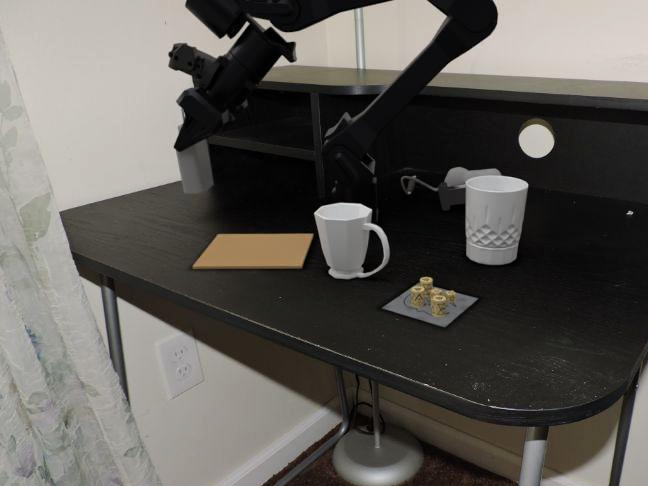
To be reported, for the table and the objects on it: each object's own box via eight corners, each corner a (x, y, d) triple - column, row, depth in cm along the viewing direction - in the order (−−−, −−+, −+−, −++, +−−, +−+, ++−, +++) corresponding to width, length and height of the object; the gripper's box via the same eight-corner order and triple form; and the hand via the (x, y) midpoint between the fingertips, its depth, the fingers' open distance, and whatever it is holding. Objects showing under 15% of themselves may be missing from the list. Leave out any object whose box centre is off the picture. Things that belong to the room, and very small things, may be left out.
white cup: (484, 271, 72) (489, 194, 68) (450, 251, 78) (454, 179, 74) (533, 260, 75) (541, 186, 71) (497, 242, 82) (503, 172, 77)
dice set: (441, 318, 61) (442, 302, 60) (401, 306, 64) (401, 291, 63) (463, 300, 65) (463, 285, 64) (424, 290, 67) (424, 275, 66)
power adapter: (182, 193, 86) (166, 110, 80) (196, 183, 90) (181, 104, 85) (202, 193, 85) (187, 110, 80) (215, 183, 90) (202, 104, 85)
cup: (341, 257, 76) (339, 199, 73) (404, 274, 72) (404, 212, 68) (306, 275, 71) (301, 213, 68) (371, 294, 66) (369, 229, 63)
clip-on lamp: (390, 216, 101) (482, 211, 91) (381, 182, 99) (474, 172, 88) (423, 194, 110) (510, 187, 99) (415, 162, 107) (504, 151, 97)
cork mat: (313, 236, 84) (313, 233, 84) (301, 268, 73) (301, 265, 73) (218, 236, 84) (218, 234, 84) (192, 269, 73) (192, 266, 73)
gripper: (214, 19, 86) (156, 98, 90) (178, 20, 69) (108, 117, 74) (273, 74, 90) (214, 147, 94) (252, 87, 73) (181, 175, 78)
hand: (182, 145), depth 85 cm, fingers closed on power adapter, 5 cm apart
